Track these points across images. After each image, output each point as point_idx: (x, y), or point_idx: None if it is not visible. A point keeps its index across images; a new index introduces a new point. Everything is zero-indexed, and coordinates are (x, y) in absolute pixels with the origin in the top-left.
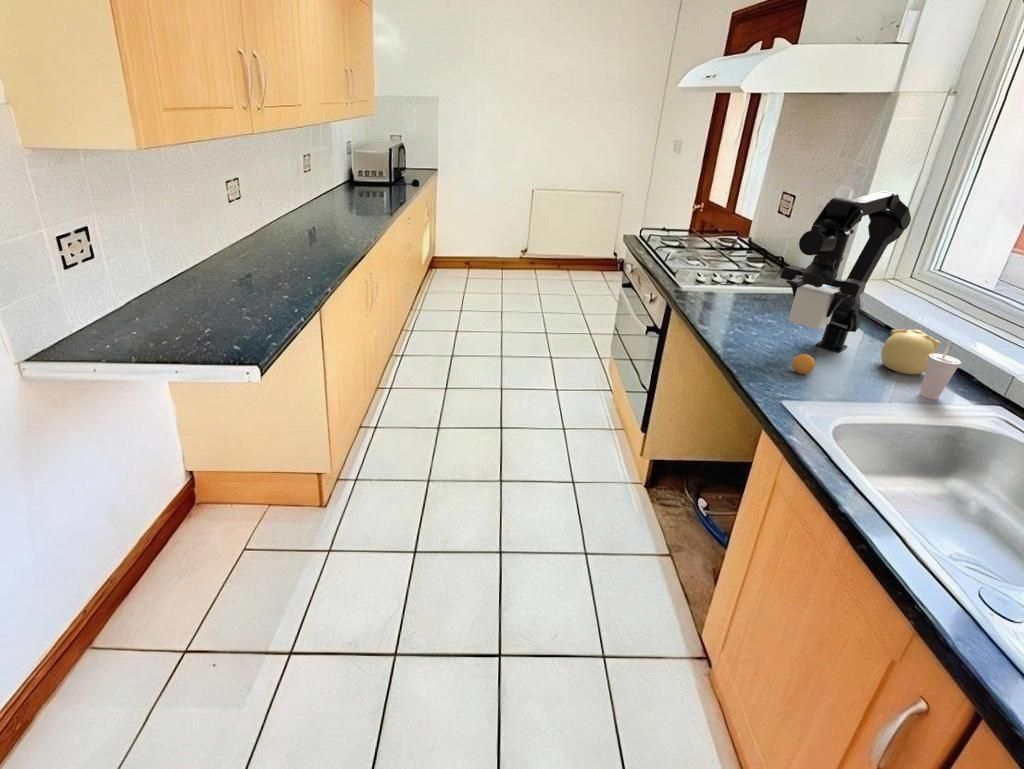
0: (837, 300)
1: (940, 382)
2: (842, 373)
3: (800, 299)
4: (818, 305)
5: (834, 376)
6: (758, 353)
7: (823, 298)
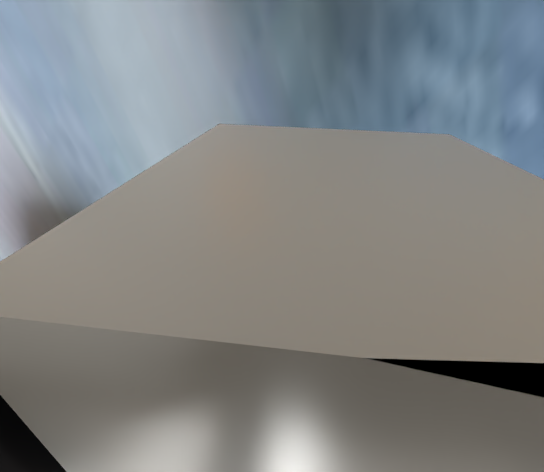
0: None
1: None
2: (149, 129)
3: (519, 213)
4: (219, 185)
5: (147, 66)
6: (466, 40)
7: (117, 251)
